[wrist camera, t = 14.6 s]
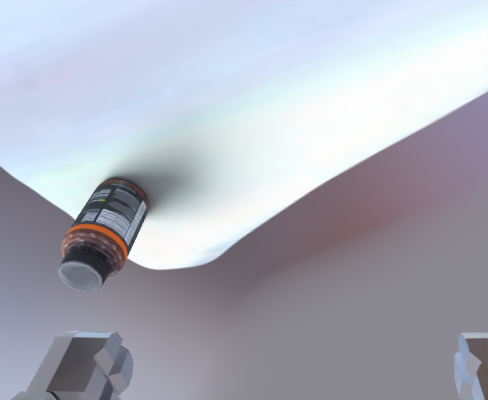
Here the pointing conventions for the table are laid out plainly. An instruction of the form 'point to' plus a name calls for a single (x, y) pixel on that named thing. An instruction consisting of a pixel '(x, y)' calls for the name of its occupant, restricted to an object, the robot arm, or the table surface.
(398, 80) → the table surface
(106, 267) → the supplement bottle
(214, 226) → the table surface
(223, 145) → the table surface
